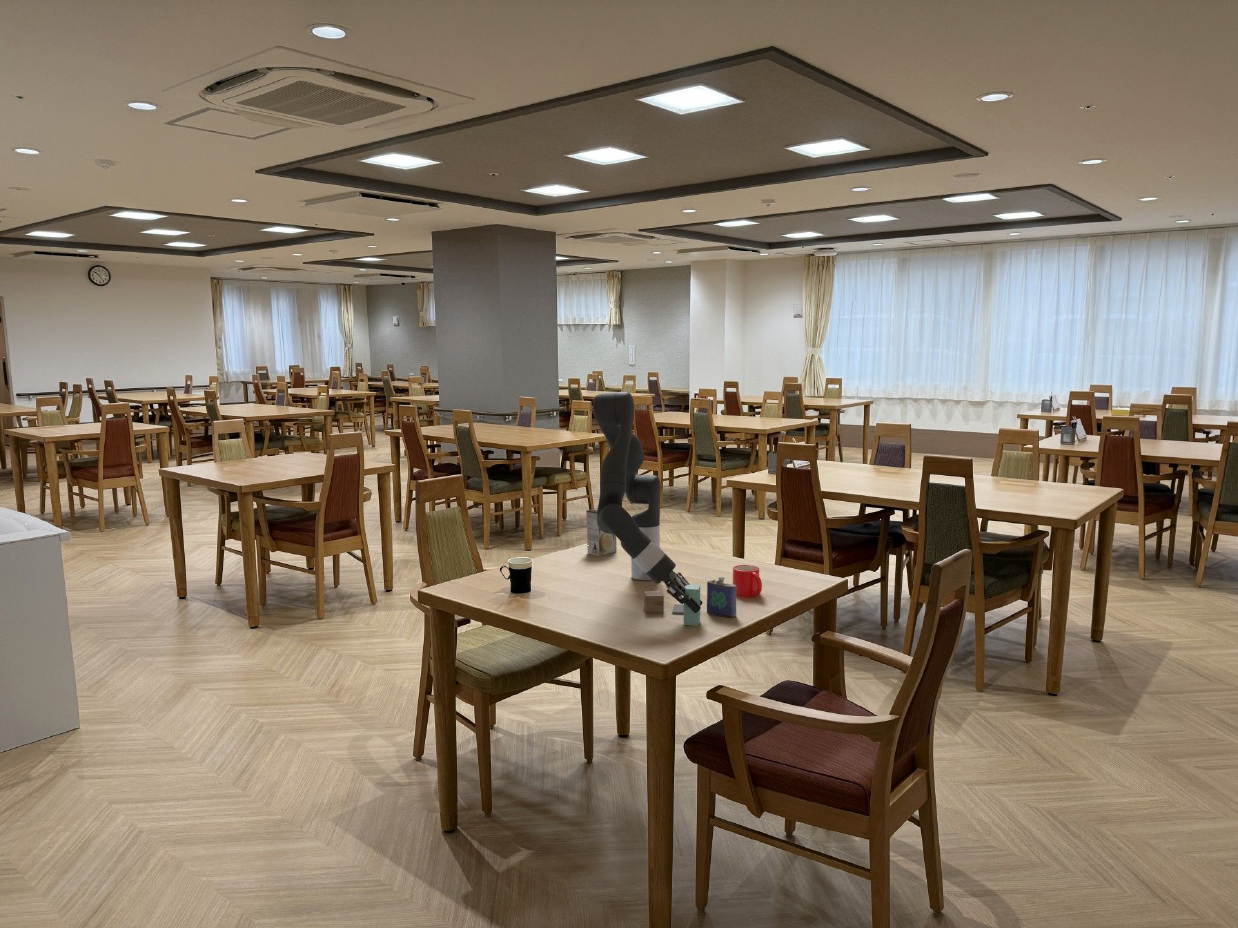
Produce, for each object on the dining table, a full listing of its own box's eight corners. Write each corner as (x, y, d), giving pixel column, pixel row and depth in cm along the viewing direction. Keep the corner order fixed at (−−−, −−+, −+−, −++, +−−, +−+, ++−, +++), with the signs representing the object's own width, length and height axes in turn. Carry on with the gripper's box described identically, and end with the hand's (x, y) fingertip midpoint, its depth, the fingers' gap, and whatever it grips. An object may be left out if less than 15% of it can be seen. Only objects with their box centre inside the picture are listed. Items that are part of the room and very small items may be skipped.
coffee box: (604, 549, 318) (603, 506, 316) (617, 551, 314) (616, 508, 312) (586, 553, 312) (585, 509, 309) (599, 556, 307) (598, 512, 305)
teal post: (685, 620, 235) (685, 584, 234) (700, 620, 235) (700, 585, 233) (683, 624, 232) (683, 588, 230) (698, 625, 231) (698, 589, 229)
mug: (750, 602, 251) (750, 575, 250) (727, 591, 262) (727, 566, 261) (772, 598, 255) (773, 572, 254) (749, 588, 266) (749, 563, 264)
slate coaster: (674, 608, 248) (674, 604, 248) (699, 609, 247) (699, 605, 247) (672, 615, 242) (672, 611, 241) (697, 616, 240) (697, 612, 240)
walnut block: (644, 608, 247) (644, 591, 247) (661, 607, 248) (661, 590, 247) (646, 613, 242) (645, 596, 242) (663, 612, 243) (663, 595, 242)
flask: (738, 616, 239) (738, 578, 237) (732, 619, 236) (732, 580, 235) (709, 610, 244) (709, 573, 243) (704, 612, 242) (703, 575, 241)
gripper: (660, 559, 225) (706, 607, 224) (667, 546, 239) (711, 591, 238) (640, 578, 227) (686, 625, 226) (649, 564, 241) (692, 609, 240)
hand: (699, 607), depth 232 cm, fingers closed on teal post, 4 cm apart
